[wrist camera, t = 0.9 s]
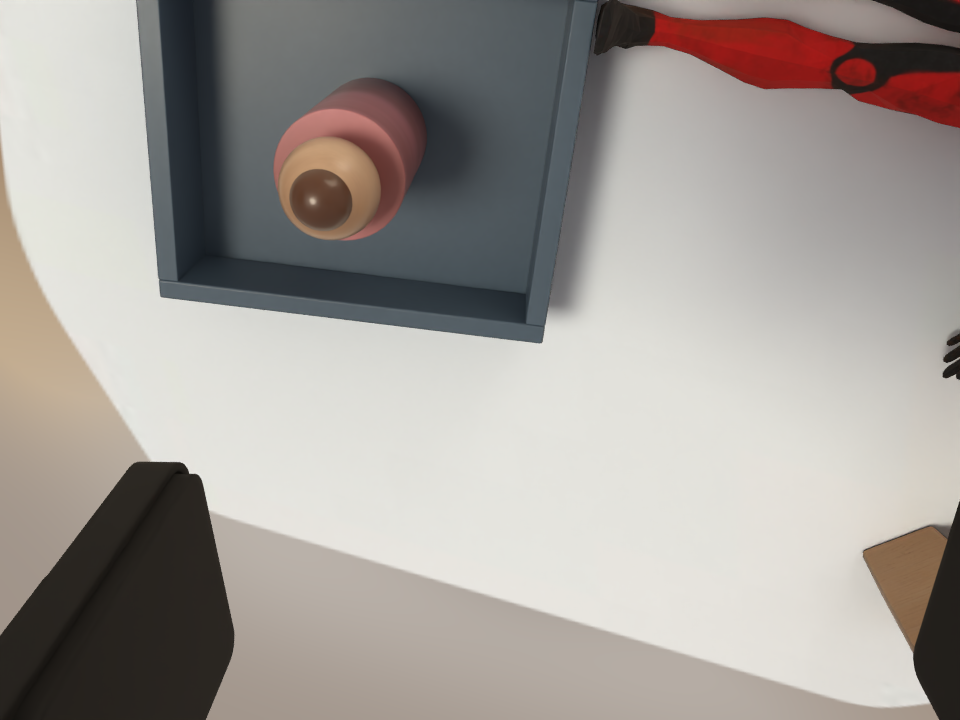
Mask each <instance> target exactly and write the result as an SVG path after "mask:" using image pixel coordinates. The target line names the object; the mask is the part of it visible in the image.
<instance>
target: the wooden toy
mask: <svg viewBox="0 0 960 720" xmlns="http://www.w3.org/2000/svg"><path fill="white" fill-rule="evenodd" d="M947 540H948V539H947V538H945V537H944V536H943V535H942V534H941V533H940V532H939V531H938V530H936V529H935V528H934V527H932V526H931V527H926V528H923V529H921V530H918V531H915V532H913V533H910V534H907V535H905V536H902V537H899V538H897V539H894V540H891V541H889V542H886V543H883V544H881V545H878V546H875V547H873V548H870V549H867V550H865V551H864V552H863V558H864V560H865V562H866V564H867V566H868V568H869V570H870V572H871V574H872V576H873V578H874V580H875V582H876V584H877V586H878V588H879V590H880V592H881V594H882V596H883V598H884V600H885V602H886V603H887V605H888V607H889V609H890V611H891V613H892V615H893V616H894V618H895V620H896V622H897V624H898V626H899V628H900V629H901V631H902V633H903V635H904V637H905V639H906V641H907V642H908V644H909V646H910V648H911V650H912V652H914V647H915V643H916V640H917V637H918V634H919V630H920V627H921V624H922V621H923V617H924V614H925V611H926V608H927V605H928V601H929V598H930V595H931V592H932V588H933V585H934V582H935V579H936V576H937V572H938V569H939V566H940V563H941V559H942V556H943V553H944V550H945V546H946V543H947Z"/></svg>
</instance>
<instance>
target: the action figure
mask: <svg viewBox="0 0 960 720" xmlns="http://www.w3.org/2000/svg"><path fill="white" fill-rule="evenodd" d="M873 1H876V2H879V3H882V4H885V5H887V6H890V7H893V8H895V9H897V10H899V11H901V12H903V13H905V14H907V15H909V16H911V17H914V18H916V19H918V20H920V21H922V22H924V23H927V24H930V25H933V26H936V27H939V28H942V29H945V30H949V31H953V32H958V33H960V0H873ZM595 37H596V42H595V48H594V54H596V55H600V54H602V53H605V52H607V51H608V50H609V49H611V48H612V47H614V46H618V47H622V48H625V49H627V48H630V47H633V46H645V45H648V46H665V47H668V48H672V49H675V50H678V51H682V52H685V53H688V54H691V55H693V56H695V57H697V58H699V59H701V60H703V61H705V62H706V63H708V64H710V65H712V66H714V67H716V68H718V69H720V70H722V71H724V72H726V73H728V74H730V75H731V76H733V77H735V78H737V79H739V80H741V81H743V82H745V83H748V84H751V85H754V86H757V87H760V88H763V89H779V88H822V89H842V90H844V91H845V92H847V93H848V94H849V95H851V96H852V97H854V98H855V99H856V100H858V101H861V102H865V103H868V104H872V105H876V106H879V107H883V108H887V109H891V110H895V111H900V112H905V113H910V114H914V115H918V116H921V117H923V118H926V119H929V120H931V121H934V122H937V123H940V124H945V125H949V126H953V127H958V128H960V48H955V47H950V46H944V45H934V44H922V43H883V44H870V43H856V42H852V41H848V40H845V39H841V38H837V37H833V36H830V35H827V34H824V33H821V32H817V31H814V30H811V29H808V28H806V27H803V26H801V25H798V24H796V23H794V22H791V21H789V20H784V19H774V18H753V19H738V20H693V19H683V18H674V17H669V16H666V15H664V14H661V13H659V12H656V11H653V10H649V9H645V8H641V7H637V6H632V5H626V4H623V3H620V2H619V1H618V0H609V1H608V2H607V3H605V4H603V5H602V6H601V9H600V12H599V15H598V20H597V27H596V34H595ZM959 342H960V334H958V335H957V336H955V337H953V338H951V339H949V340H948V341H947V345H948V346H952V345H955V344H957V343H959ZM958 357H960V345H959V346H958V347H957V348H955V349H954V350H952V351H950V352H949V353H948V354H946V355H945V357H944V358H943V362H946V363H948V362H951V361H953V360H955V359H957V358H958ZM955 374H956V378H957V379H959V380H960V359H959V360H957V361H956V362H954V363H953V364H951V365H949V366H948V367H947V368H946V369H945V370H944V372H943V378H949V377H951V376H953V375H955Z"/></svg>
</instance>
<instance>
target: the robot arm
mask: <svg viewBox="0 0 960 720" xmlns="http://www.w3.org/2000/svg"><path fill="white" fill-rule="evenodd" d="M233 647H234V628H233V623H232V618H231V614H230V609H229V604H228V600H227V595H226V590H225V586H224V581H223V576H222V572H221V567H220V562H219V557H218V553H217V548H216V544H215V539H214V534H213V530H212V525H211V520H210V515H209V511H208V506H207V501H206V497H205V492H204V487H203V483H202V480H201V478H200V477H199V475H197V474H189V471H188V469H187V467H186V466H185V464H183V463H181V462H136V463H134V464H133V465H132V466H131V467H129V469H128V470H127V471H126V473H125V474H124V475H123V477H122V478H121V479H120V480H119V482H118V483H117V484H116V486H115V487H114V489H113V490H112V491H111V492H110V494H109V495H108V496H107V498H106V499H105V500H104V501H103V503H102V504H101V506H100V507H99V508H98V509H97V511H96V512H95V513H94V515H93V516H92V517H91V519H90V520H89V521H88V523H87V524H86V525H85V527H84V528H83V529H82V530H81V532H80V533H79V534H78V536H77V537H76V538H75V540H74V541H73V543H72V544H71V545H70V546H69V548H68V549H67V550H66V552H65V553H64V554H63V556H62V557H61V558H60V559H59V561H58V562H57V563H56V565H55V566H54V567H53V569H52V570H51V571H50V573H49V574H48V575H47V576H46V577H45V578H44V579H43V580H42V582H41V583H40V584H39V586H38V587H37V588H36V589H35V591H34V592H33V593H32V595H31V596H30V597H29V599H28V600H27V601H26V603H25V604H24V605H23V607H22V608H21V609H20V611H19V612H18V613H17V615H16V616H15V617H14V618H13V620H12V621H11V622H10V624H9V625H8V626H7V628H6V629H5V630H4V631H3V633H2V634H1V635H0V720H206V718H207V715H208V713H209V710H210V708H211V706H212V703H213V701H214V699H215V696H216V694H217V691H218V689H219V687H220V684H221V682H222V679H223V677H224V674H225V672H226V670H227V667H228V665H229V662H230V660H231V656H232V653H233ZM913 660H914V668H915V672H916V675H917V678H918V680H919V682H920V684H921V686H922V688H923V690H924V692H925V694H926V695H927V697H928V699H929V701H930V703H931V705H932V706H933V709H934V710H935V712H936V714H937V716H938V718H939V720H960V501H959V505H958V508H957V511H956V514H955V517H954V521H953V524H952V527H951V530H950V534H949V537H948V540H947V543H946V546H945V550H944V553H943V556H942V559H941V563H940V566H939V569H938V572H937V576H936V579H935V582H934V585H933V588H932V592H931V595H930V598H929V601H928V605H927V608H926V611H925V614H924V617H923V621H922V624H921V627H920V630H919V634H918V637H917V640H916V643H915V647H914V652H913Z"/></svg>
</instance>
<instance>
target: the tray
mask: <svg viewBox="0 0 960 720" xmlns="http://www.w3.org/2000/svg"><path fill="white" fill-rule="evenodd" d="M597 2H598V0H136V4H137V17H138V29H139V42H140V54H141V67H142V79H143V92H144V104H145V117H146V129H147V142H148V154H149V167H150V179H151V192H152V204H153V217H154V229H155V242H156V254H157V267H158V278H159V279H160V280H159V286H160V296H161V297H164V298H172V299H180V300H189V301H197V302H205V303H213V304H221V305H229V306H238V307H246V308H254V309H262V310H270V311H279V312H287V313H295V314H303V315H311V316H320V317H328V318H336V319H344V320H352V321H360V322H369V323H377V324H385V325H393V326H401V327H410V328H418V329H426V330H434V331H442V332H451V333H459V334H467V335H475V336H483V337H492V338H500V339H508V340H516V341H524V342H532V343H542V342H543V335H544V329H545V323H546V317H547V311H548V305H549V299H550V293H551V287H552V280H553V274H554V268H555V262H556V256H557V250H558V244H559V238H560V231H561V225H562V219H563V213H564V207H565V201H566V195H567V188H568V182H569V176H570V170H571V164H572V158H573V152H574V146H575V139H576V133H577V127H578V121H579V115H580V109H581V103H582V96H583V90H584V84H585V78H586V72H587V66H588V60H589V54H590V47H591V41H592V35H593V29H594V23H595V17H596V11H597ZM360 78H377V79H382V80H385V81H388V82H391V83H393V84H395V85H397V86H398V87H400V88H401V89H403V90H404V91H405V92H406V93H407V94H408V95H409V96H410V97H411V98H412V99H413V100H414V101H415V103H416V104H417V106H418V107H419V109H420V111H421V113H422V115H423V118H424V121H425V125H426V131H427V144H426V150H425V154H424V157H423V159H422V161H421V164H420V166H419V168H418V170H417V172H416V174H415V176H414V178H413V180H412V183H411V185H410V187H409V189H408V191H407V193H406V195H405V197H404V199H403V202H402V204H401V206H400V208H399V210H398V211H397V213H396V215H395V216H394V217H393V219H392V220H391V221H390V222H389V223H388V224H387V225H386V226H385V227H384V228H382V229H381V230H379V231H378V232H376V233H374V234H372V235H370V236H368V237H365V238H361V239H356V240H322V239H318V238H315V237H312V236H310V235H307V234H306V233H304V232H302V231H301V230H299V229H298V228H297V227H296V226H295V225H294V224H293V223H292V222H291V221H290V220H289V219H288V217H287V216H286V214H285V212H284V210H283V208H282V206H281V203H280V200H279V195H278V191H277V188H276V185H275V180H274V170H273V167H274V157H275V152H276V149H277V146H278V143H279V142H280V140H281V138H282V136H283V135H284V133H285V132H286V130H287V129H288V128H289V127H290V126H291V125H292V124H293V123H294V122H295V121H297V120H298V119H299V118H300V117H302V116H303V115H304V114H306V113H307V112H308V111H309V110H311V109H312V108H313V107H314V106H316V105H317V104H318V103H319V102H321V101H322V100H323V99H324V98H326V97H327V96H328V95H330V94H331V93H332V92H333V91H335V90H336V89H337V88H338V87H340V86H341V85H343V84H345V83H347V82H349V81H352V80H355V79H360Z"/></svg>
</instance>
